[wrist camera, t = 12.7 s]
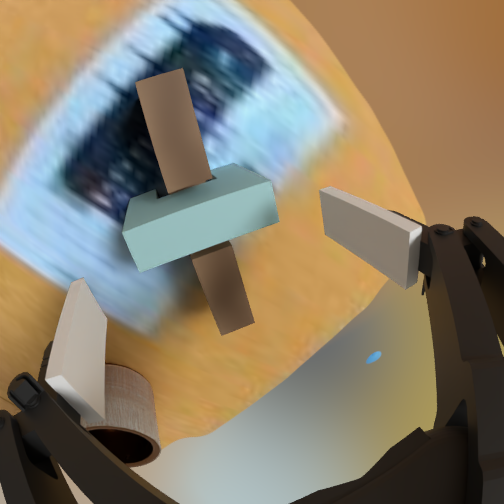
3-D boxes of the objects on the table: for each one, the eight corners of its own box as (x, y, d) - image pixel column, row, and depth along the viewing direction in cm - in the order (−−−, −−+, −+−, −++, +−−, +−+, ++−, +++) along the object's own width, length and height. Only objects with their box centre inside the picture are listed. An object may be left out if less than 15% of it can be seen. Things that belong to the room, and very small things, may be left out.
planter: (154, 412, 37) (164, 468, 28) (82, 410, 33) (81, 466, 24) (151, 361, 33) (160, 425, 25) (66, 358, 29) (56, 420, 21)
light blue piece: (141, 228, 26) (139, 272, 19) (129, 198, 25) (122, 232, 17) (241, 192, 28) (279, 221, 20) (233, 162, 27) (270, 180, 19)
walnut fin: (203, 288, 31) (221, 335, 24) (139, 95, 21) (135, 82, 15) (229, 278, 32) (254, 322, 25) (173, 85, 22) (182, 68, 15)
